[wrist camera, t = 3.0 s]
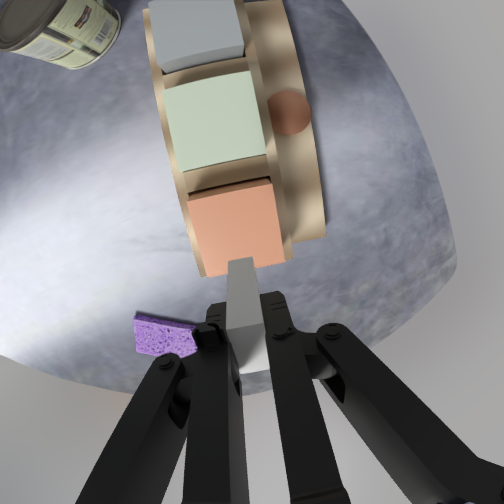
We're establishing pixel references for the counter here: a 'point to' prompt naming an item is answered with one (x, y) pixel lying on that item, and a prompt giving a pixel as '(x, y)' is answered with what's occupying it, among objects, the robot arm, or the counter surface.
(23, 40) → the coffee can
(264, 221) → the terracotta key
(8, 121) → the counter surface
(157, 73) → the key panel
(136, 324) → the sponges
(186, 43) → the grey key
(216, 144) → the sage key
